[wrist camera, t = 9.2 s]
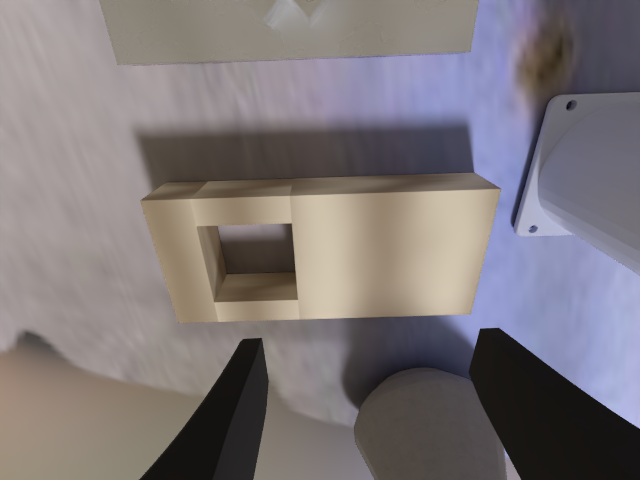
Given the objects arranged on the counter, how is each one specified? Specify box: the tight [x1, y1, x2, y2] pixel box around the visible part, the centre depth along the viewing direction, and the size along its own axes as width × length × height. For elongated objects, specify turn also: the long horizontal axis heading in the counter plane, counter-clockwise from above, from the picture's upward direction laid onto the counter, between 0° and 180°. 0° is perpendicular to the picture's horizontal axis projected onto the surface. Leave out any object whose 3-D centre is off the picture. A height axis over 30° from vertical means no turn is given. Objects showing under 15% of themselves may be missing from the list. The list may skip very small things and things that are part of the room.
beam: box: [140, 172, 501, 323], centre depth 19 cm, size 18×8×3 cm, turn 92°
